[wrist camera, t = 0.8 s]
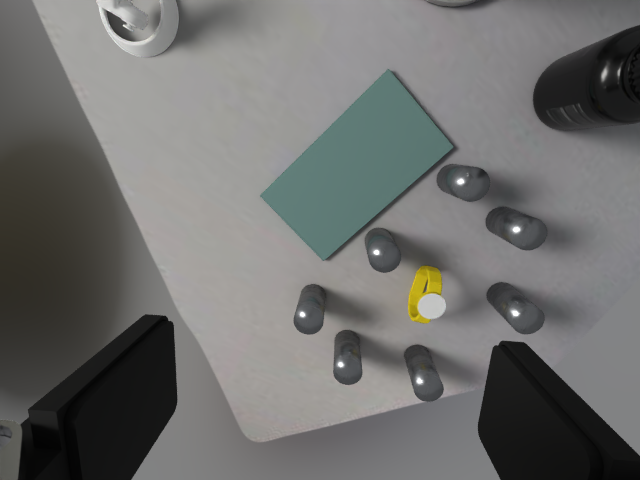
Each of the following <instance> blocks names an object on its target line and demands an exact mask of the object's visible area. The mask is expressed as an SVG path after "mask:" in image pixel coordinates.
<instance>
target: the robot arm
mask: <svg viewBox="0 0 640 480" xmlns="http://www.w3.org/2000/svg"><path fill="white" fill-rule="evenodd" d="M426 1H427V2H431V3H434V4H437V5H441V6H452V7H453V6H461V5H467V4H470V3H473V2H476V1H479V0H426ZM176 384H177V383H176V363H175V343H174V325H173V322H171V321H168V318H167V317H166V316H160V315H144V316H142V317H141V318H140V319H139V320H138V321H136V322H135V323H134V324H133V325H131V326H130V327H129V328H128V329H126V330H125V331H124V332H123V333H122V334H120V335H119V336H118V337H117V338H115V339H114V340H113V341H112V342H111V343H109V344H108V345H107V346H105V347H104V348H103V349H102V350H101V351H99V352H98V353H97V354H96V355H94V356H93V357H92V358H91V359H89V360H88V361H87V362H86V363H85V364H83V365H82V366H81V367H80V368H78V369H77V370H76V371H75V372H74V373H73V374H71V375H70V376H69V377H67V378H66V379H65V380H64V381H62V382H61V383H60V384H59V385H57V386H56V387H55V388H54V389H52V390H51V391H50V392H49V393H48V394H46V395H45V396H44V397H43V398H41V399H40V400H39V401H38V402H36V403H35V404H34V405H33V406H32V407H30V408H29V409H28V413H29V418H28V419H26V420H25V421H24V422H23V423H22V424H21V425H20V424H18V423H17V422H15V421H10V420H0V480H131V479H132V477H133V476H134V474H135V473H136V471H137V470H138V468H139V467H140V465H141V463H142V462H143V460H144V459H145V457H146V456H147V454H148V453H149V451H150V449H151V448H152V446H153V445H154V443H155V442H156V440H157V439H158V437H159V435H160V434H161V432H162V431H163V429H164V428H165V426H166V425H167V423H168V421H169V420H170V418H171V417H172V415H173V413H174V412H175V409H176V405H177V385H176ZM478 433H479V437H480V440H481V442H482V444H483V446H484V448H485V450H486V452H487V454H488V456H489V457H490V459H491V462H492V464H493V465H494V468H495V469H496V471H497V473H498V475H499V477H500V479H501V480H640V456H639V455H638V454H637V453H636V452H635V451H634V450H633V449H632V448H631V447H630V446H629V445H628V444H627V443H626V442H625V441H624V440H623V439H622V438H621V437H620V436H619V435H618V434H617V433H616V432H615V431H614V430H613V429H612V428H611V427H610V426H609V425H608V424H607V423H606V422H605V421H604V420H603V419H602V418H601V417H600V416H599V415H598V414H597V413H596V412H595V411H594V410H593V409H591V407H590V406H589V405H588V404H587V403H586V402H585V401H584V400H583V399H582V398H581V397H580V396H579V395H577V394H576V393H575V392H574V391H573V390H572V389H571V388H570V387H569V386H568V385H567V384H566V383H565V382H564V381H563V380H562V379H561V378H560V377H559V376H558V375H557V374H556V373H555V372H554V371H553V370H552V369H551V368H550V367H549V366H548V365H547V364H546V363H545V362H544V361H543V360H542V359H541V358H540V357H539V356H538V355H537V354H536V353H535V352H534V351H533V350H532V349H531V348H530V347H529V346H528V345H527V344H525V343H524V342H512V341H501V342H500V343H499V345H498V346H497V345H495V346H494V347H493V350H492V354H491V359H490V365H489V370H488V375H487V380H486V385H485V391H484V396H483V401H482V407H481V411H480V417H479V422H478Z"/></svg>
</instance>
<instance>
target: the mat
mask: <svg viewBox="0 0 640 480" xmlns="http://www.w3.org/2000/svg"><path fill="white" fill-rule="evenodd" d="M452 148H453V146H452V144H451V143H450V142H449V141H448V139H447V138H446V137H445V136H444V135H443V133H442V132H441V131H440V130H439V129H438V127H437V126H436V125H435V124H434V123H433V121H432V120H431V119H430V118H429V117H428V115H427V114H426V113H425V112H424V111H423V109H422V108H421V107H420V106H419V105H418V103H417V102H416V101H415V100H414V99H413V97H412V96H411V95H410V94H409V93H408V91H407V90H406V89H405V88H404V87H403V85H402V84H401V83H400V82H399V81H398V79H397V78H396V77H395V76H394V75H393V73H392V72H391V71H390V70H389V69H388V70H387V71H386V72H385V73H384V74H383V75H382V76H381V77H380V78H379V79H378V80H377V81H376V82H375V83H374V84H372V85H371V86H370V87H369V88H368V89H367V90H366V91H365V92H364V93H363V94H362V95H361V96H360V97H359V98H358V99H357V100H356V101H355V102H354V103H353V104H352V105H351V106H350V107H349V108H348V109H347V110H346V111H345V112H344V113H343V114H342V115H341V116H340V117H339V118H338V119H337V120H336V121H335V122H334V123H333V124H332V125H331V126H330V127H329V128H328V129H327V130H326V131H325V132H324V133H323V134H322V135H321V136H320V137H319V138H318V139H317V140H316V141H315V142H314V143H313V144H312V145H311V146H310V147H309V148H308V149H307V150H306V151H305V152H304V153H303V154H302V155H301V156H300V157H299V158H298V159H297V160H296V161H295V162H294V163H293V164H292V165H290V166H289V167H288V168H287V169H286V170H285V171H284V172H283V173H282V174H281V175H280V176H279V177H278V178H277V179H276V180H275V181H274V182H273V183H272V184H271V185H270V186H269V187H268V188H267V189H266V190H265V191H264V192H263V193H262V194H261V195H260V196H261V197H262V199H263V200H264V201H265V202H266V203H267V204H268V205H269V206H270V207H271V208H272V209H273V210H274V211H275V212H276V213H277V214H278V215H279V216H280V217H281V218H282V219H283V220H284V221H285V222H286V223H287V224H288V225H289V226H290V227H291V228H292V229H293V230H294V232H295V233H296V234H297V235H298V236H299V237H300V238H301V239H302V240H303V241H304V242H305V243H306V244H307V245H308V246H309V247H310V248H311V249H312V250H313V251H314V252H315V253H316V254H317V255H318V256H319V257H320V258H321V259H322V260H323V261H324V260H325V259H326V258H327V257H329V256H330V255H331V254H332V253H333V252H334V251H335V250H337V249H338V248H339V247H340V246H341V245H342V244H343V243H345V242H346V241H347V240H348V239H349V238H350V237H351V236H353V235H354V234H355V233H356V232H357V231H358V230H359V229H361V228H362V227H363V226H364V225H365V224H366V223H367V222H369V221H370V220H371V219H372V218H373V217H374V216H375V215H377V214H378V213H379V212H380V211H381V210H382V209H383V208H385V207H386V206H387V205H388V204H389V203H390V202H391V201H393V200H394V199H395V198H396V197H397V196H398V195H399V194H401V193H402V192H403V191H404V190H405V189H406V188H407V187H409V186H410V185H411V184H412V183H413V182H414V181H415V180H417V179H418V178H419V177H420V176H421V175H422V174H424V173H425V172H426V171H427V170H428V169H429V168H430V167H432V166H433V165H434V164H435V163H436V162H437V161H438V160H440V159H441V158H442V157H443V156H444V155H445V154H446V153H448V152H449V151H450V150H451V149H452Z"/></svg>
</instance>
